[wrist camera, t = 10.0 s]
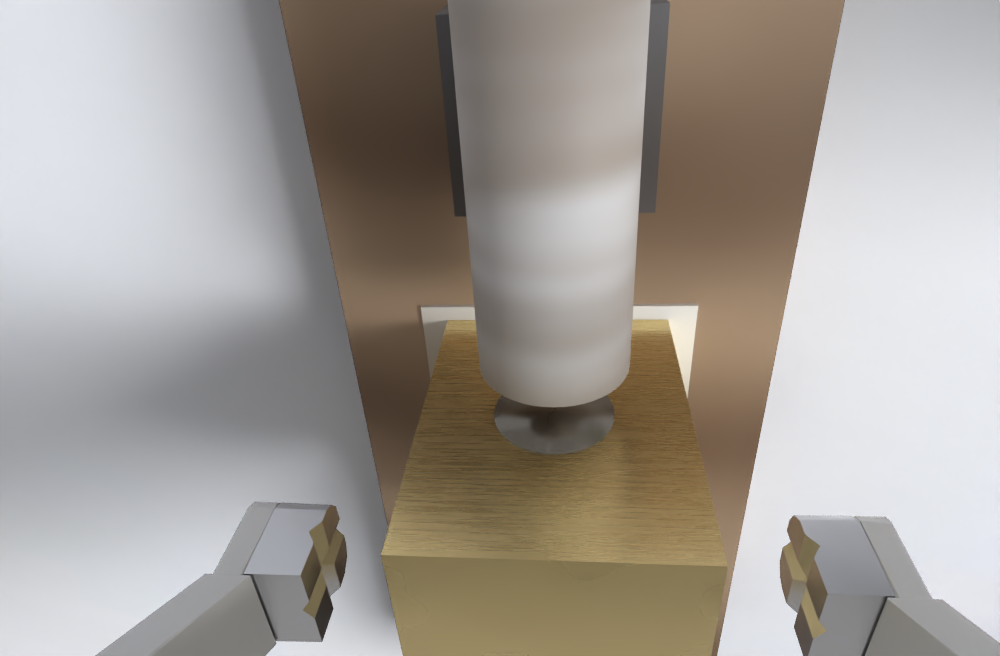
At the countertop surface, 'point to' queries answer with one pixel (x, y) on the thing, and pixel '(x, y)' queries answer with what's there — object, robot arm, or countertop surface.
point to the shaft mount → (565, 198)
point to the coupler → (555, 517)
